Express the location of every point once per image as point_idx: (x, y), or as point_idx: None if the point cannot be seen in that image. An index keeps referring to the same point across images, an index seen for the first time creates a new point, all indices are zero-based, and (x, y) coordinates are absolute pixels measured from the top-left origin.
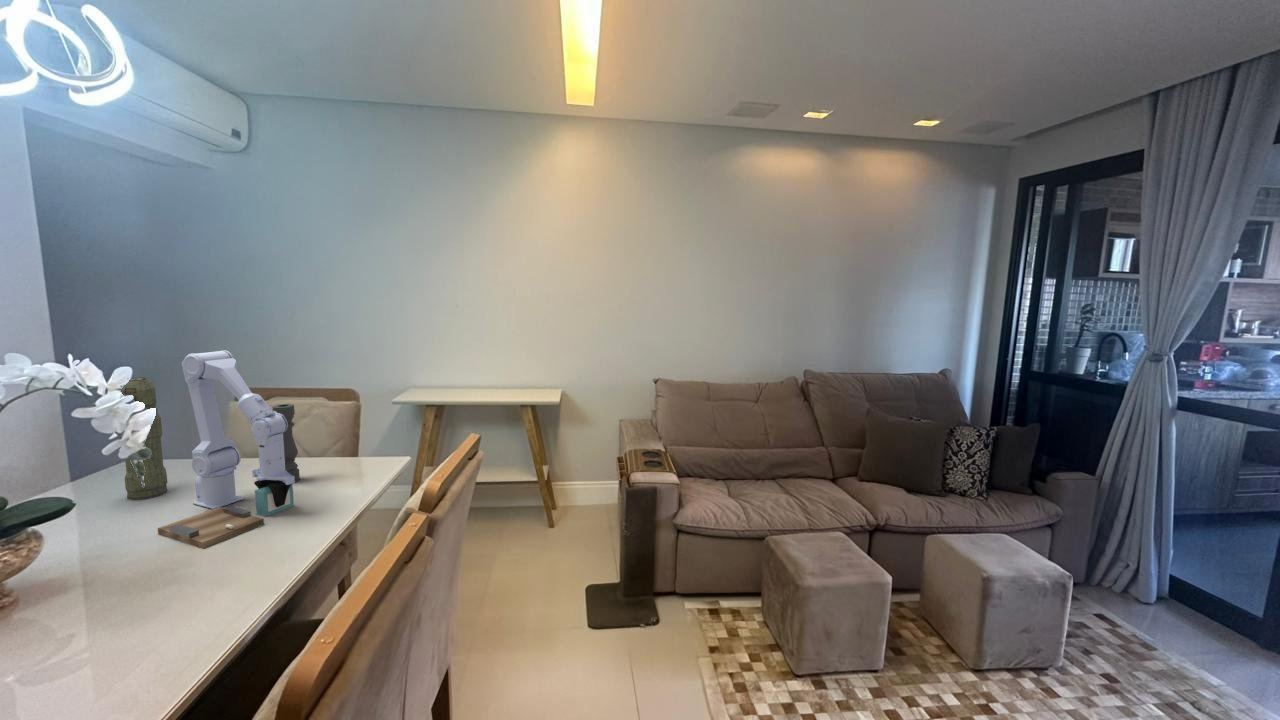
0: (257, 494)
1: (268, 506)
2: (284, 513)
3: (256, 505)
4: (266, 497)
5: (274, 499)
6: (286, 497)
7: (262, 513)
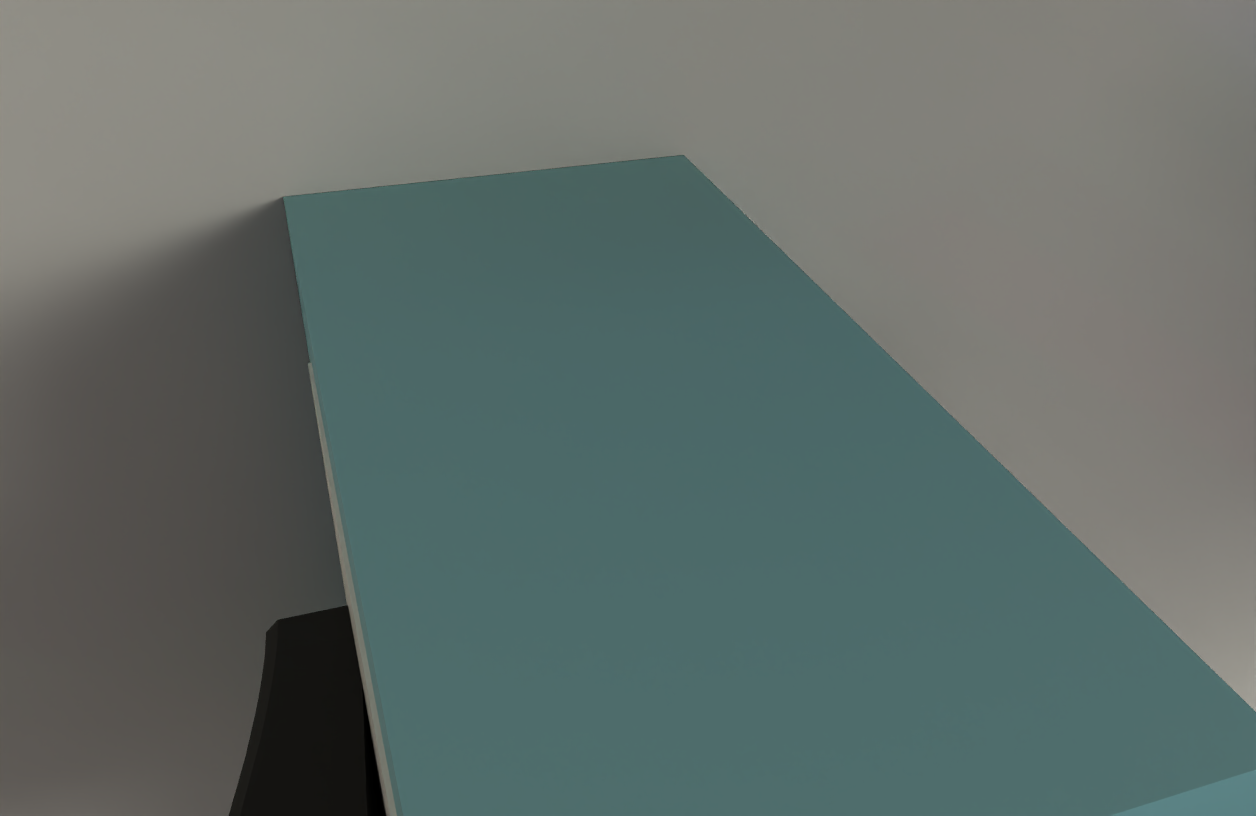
0: (940, 640)
1: (331, 484)
2: (45, 583)
3: (780, 291)
4: (381, 760)
5: (322, 814)
6: None
7: (419, 222)
